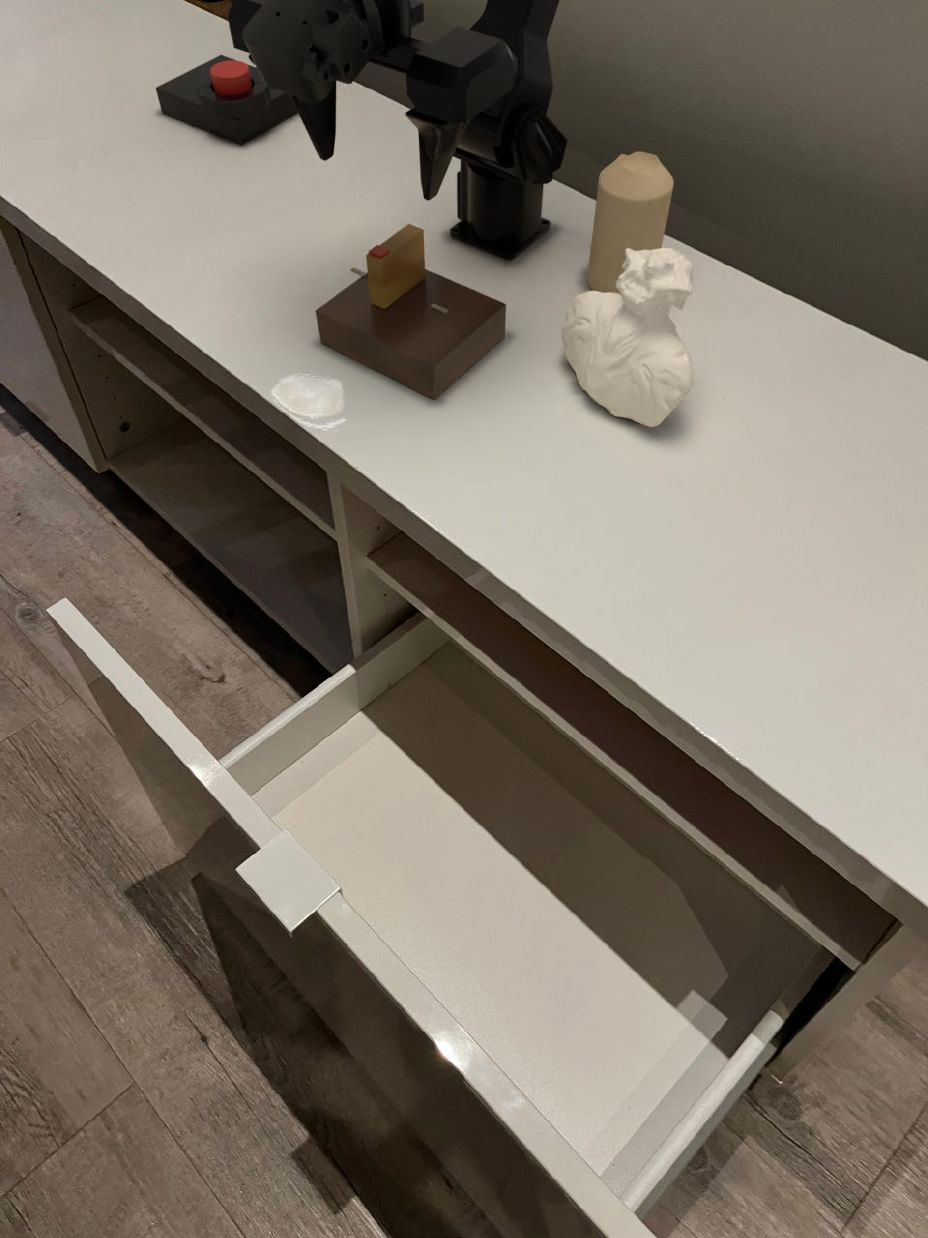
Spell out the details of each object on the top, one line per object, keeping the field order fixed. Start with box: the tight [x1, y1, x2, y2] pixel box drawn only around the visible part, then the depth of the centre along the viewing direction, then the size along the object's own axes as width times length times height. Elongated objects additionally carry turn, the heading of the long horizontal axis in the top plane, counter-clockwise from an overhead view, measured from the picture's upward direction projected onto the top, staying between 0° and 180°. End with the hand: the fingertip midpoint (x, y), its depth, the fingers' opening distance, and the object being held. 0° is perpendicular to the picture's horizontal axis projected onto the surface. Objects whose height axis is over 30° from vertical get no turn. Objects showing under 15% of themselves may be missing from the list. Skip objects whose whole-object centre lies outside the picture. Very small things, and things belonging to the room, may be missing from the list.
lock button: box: [210, 59, 252, 96], centre depth 87 cm, size 4×4×2 cm
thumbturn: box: [365, 223, 426, 309], centre depth 68 cm, size 5×1×4 cm, turn 144°
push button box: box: [155, 54, 299, 146], centre depth 90 cm, size 12×10×4 cm
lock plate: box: [315, 266, 507, 401], centre depth 70 cm, size 12×9×3 cm
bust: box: [561, 247, 697, 428], centre depth 64 cm, size 12×8×11 cm
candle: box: [587, 151, 675, 296], centre depth 71 cm, size 6×6×10 cm
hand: (377, 177), depth 65 cm, fingers open, 9 cm apart
